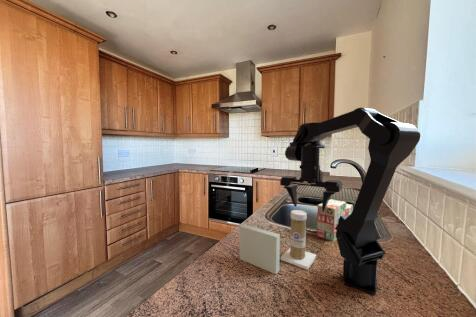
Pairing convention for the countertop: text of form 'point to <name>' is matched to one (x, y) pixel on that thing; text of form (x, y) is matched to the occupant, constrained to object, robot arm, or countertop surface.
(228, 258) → the countertop surface
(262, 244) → the pale green board
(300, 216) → the seasoning jar
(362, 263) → the robot arm
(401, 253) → the countertop surface
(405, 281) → the countertop surface
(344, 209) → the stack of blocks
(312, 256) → the tile pad
